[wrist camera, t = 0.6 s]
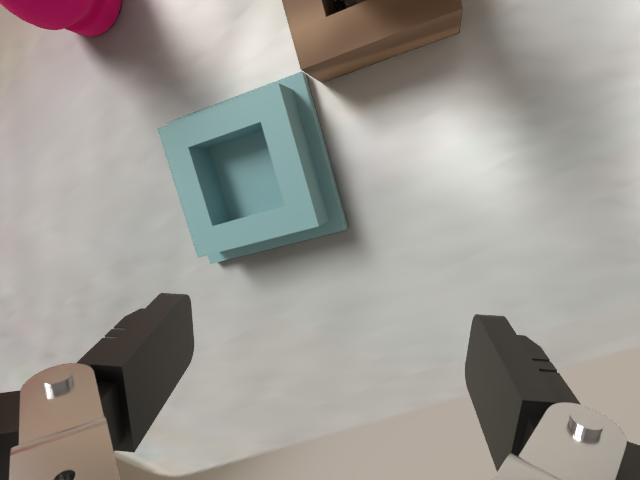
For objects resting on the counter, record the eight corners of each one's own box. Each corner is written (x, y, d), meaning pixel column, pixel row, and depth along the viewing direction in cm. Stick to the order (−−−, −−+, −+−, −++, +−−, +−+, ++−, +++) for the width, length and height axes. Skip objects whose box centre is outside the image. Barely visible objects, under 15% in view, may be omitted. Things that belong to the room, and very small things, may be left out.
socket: (174, 123, 36) (142, 119, 32) (305, 74, 33) (287, 62, 29) (216, 261, 37) (190, 272, 34) (348, 228, 34) (336, 236, 30)
